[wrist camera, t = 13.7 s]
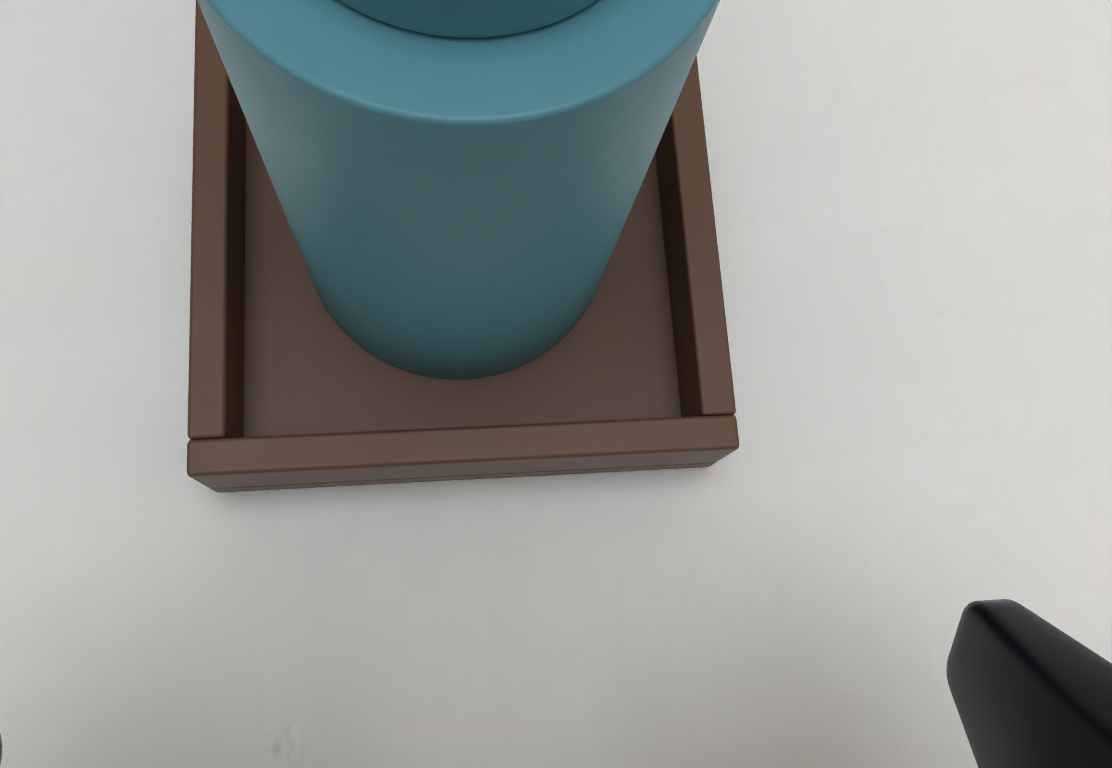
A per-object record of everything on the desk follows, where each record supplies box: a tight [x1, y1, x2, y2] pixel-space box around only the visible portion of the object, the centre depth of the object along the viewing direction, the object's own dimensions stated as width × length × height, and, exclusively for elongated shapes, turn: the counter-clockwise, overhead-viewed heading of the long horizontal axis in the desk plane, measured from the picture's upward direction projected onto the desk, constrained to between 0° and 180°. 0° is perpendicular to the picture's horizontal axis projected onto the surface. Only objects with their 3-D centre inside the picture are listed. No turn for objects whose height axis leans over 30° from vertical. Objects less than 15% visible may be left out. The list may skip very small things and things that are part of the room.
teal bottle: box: [197, 0, 720, 379], centre depth 12 cm, size 6×6×13 cm
